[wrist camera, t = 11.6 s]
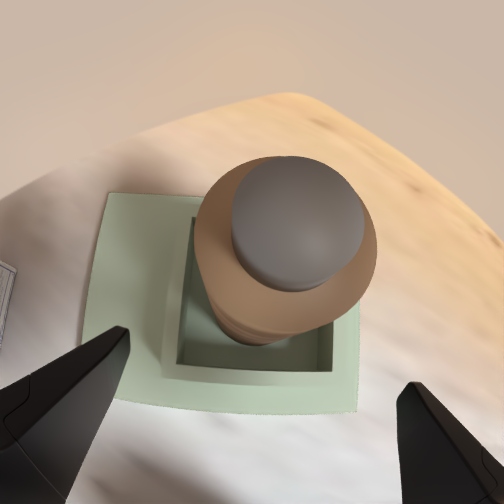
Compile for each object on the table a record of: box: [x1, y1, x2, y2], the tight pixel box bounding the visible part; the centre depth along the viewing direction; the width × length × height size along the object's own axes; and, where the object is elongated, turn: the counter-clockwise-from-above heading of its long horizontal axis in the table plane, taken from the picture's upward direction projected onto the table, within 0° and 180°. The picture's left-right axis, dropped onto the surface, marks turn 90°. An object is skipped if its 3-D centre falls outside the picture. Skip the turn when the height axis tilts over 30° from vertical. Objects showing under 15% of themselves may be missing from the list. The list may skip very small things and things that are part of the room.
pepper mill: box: [194, 156, 377, 346], centre depth 13 cm, size 5×5×13 cm
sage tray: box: [81, 193, 360, 415], centre depth 19 cm, size 18×14×4 cm
